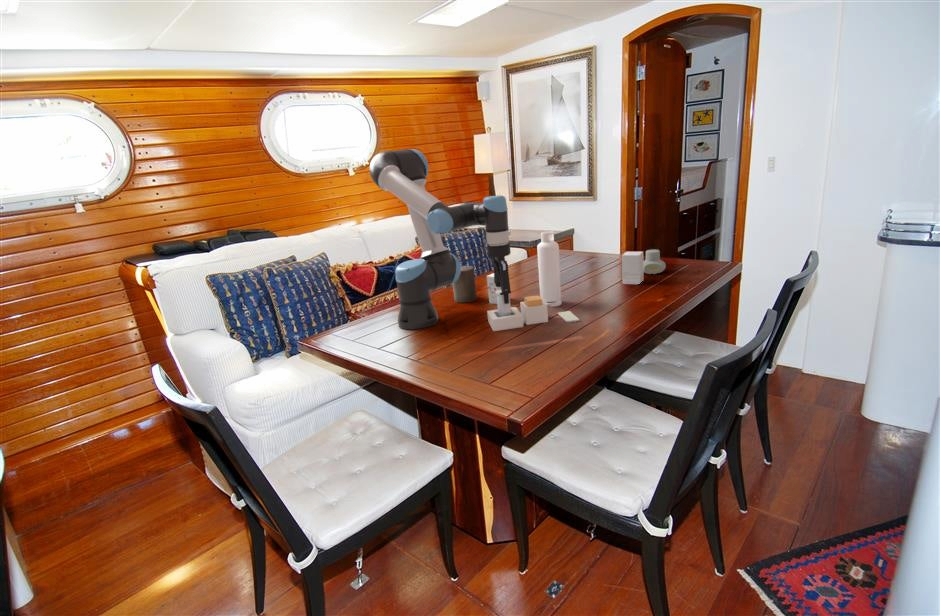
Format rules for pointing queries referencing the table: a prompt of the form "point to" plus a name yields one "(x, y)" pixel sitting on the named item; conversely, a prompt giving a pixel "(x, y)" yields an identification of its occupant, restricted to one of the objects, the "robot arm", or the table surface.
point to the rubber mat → (568, 316)
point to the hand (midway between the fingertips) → (504, 308)
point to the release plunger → (533, 301)
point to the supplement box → (632, 267)
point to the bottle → (549, 269)
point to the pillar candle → (465, 286)
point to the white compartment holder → (518, 317)
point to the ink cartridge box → (491, 289)
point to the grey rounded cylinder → (500, 305)
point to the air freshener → (653, 262)
